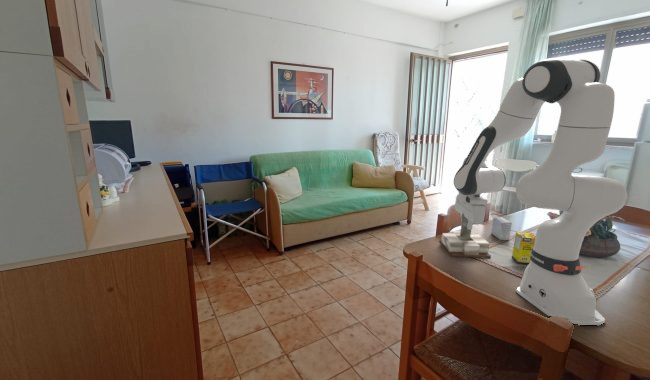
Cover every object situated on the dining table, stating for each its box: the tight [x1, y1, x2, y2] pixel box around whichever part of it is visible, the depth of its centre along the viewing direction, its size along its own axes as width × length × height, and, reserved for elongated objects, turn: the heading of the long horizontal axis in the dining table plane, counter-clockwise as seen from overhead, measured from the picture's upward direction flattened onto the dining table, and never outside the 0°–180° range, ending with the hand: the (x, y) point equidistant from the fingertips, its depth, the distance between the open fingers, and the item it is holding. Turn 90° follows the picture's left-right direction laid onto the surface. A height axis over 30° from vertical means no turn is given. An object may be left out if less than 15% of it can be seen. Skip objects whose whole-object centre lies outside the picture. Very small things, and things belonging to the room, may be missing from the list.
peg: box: [460, 213, 472, 238], centre depth 125 cm, size 4×4×10 cm
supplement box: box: [511, 231, 536, 265], centre depth 116 cm, size 6×6×11 cm
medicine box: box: [491, 216, 513, 241], centre depth 140 cm, size 8×4×9 cm, turn 179°
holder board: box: [439, 230, 492, 259], centre depth 127 cm, size 16×16×5 cm
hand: (466, 226), depth 126 cm, fingers closed on peg, 4 cm apart
